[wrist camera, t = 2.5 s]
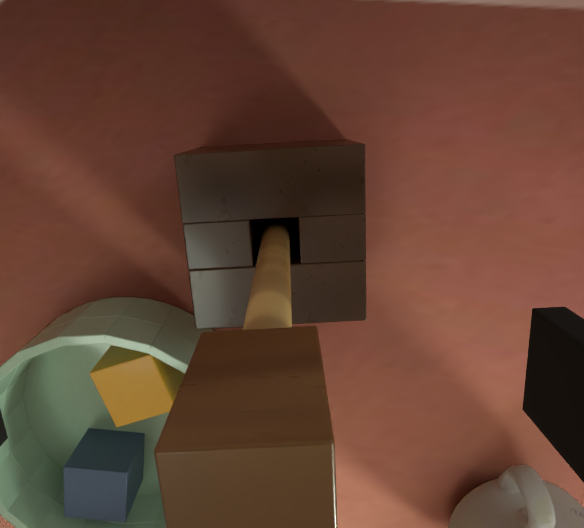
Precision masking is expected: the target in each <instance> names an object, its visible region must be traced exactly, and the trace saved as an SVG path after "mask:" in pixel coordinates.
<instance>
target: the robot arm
mask: <svg viewBox="0 0 584 528" xmlns="http://www.w3.org/2000/svg"><path fill="white" fill-rule="evenodd" d="M523 410H524V412H525V413H526V414H527V415H528V416H529V418H530V419H531V420H532V421H533V422H534V424H535V425H536V426H537V427H538V428H539V430H540V431H541V432H542V433H543V434H544V436H545V437H546V438H547V439H548V440H549V441H550V443H551V444H552V445H553V446H554V447H555V449H556V450H557V451H558V452H559V453H560V455H561V456H562V457H563V458H564V459H565V461H566V462H567V463H568V464H569V465H570V467H571V468H572V469H573V470H574V471H575V473H576V474H577V475H578V476H579V477H580V479H581V480H582V481H583V482H584V319H583V318H581V317H580V316H578V315H577V314H575V313H574V312H572V311H571V310H569V309H567V308H566V307H551V308H533V309H532V319H531V329H530V339H529V349H528V359H527V369H526V380H525V390H524V400H523ZM7 438H8V436H7V432H6V428H5V425H4V421H3V417H2V413H1V410H0V446H1V445H2V444H3V443H4V442H5V441H6V440H7Z"/></svg>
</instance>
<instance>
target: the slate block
mask: <svg viewBox="0 0 584 528" xmlns="http://www.w3.org/2000/svg"><path fill="white" fill-rule="evenodd" d="M144 441H145V433H137V432H126V431H115V430H105V429H94V428H88V430H87V431H86V433H85V434H84V436H83V437H82V439H81V441H80V442H79V444H78V445H77V447H76V448H75V450H74V451H73V453H72V454H71V456H70V458H69V459H68V461H67V462H66V464H65V465H64V467H63V476H64V517H69V518H80V519H92V520H104V521H115V522H126V520H127V517H128V515H129V513H130V510H131V508H132V505H133V503H134V500H135V498H136V495H137V493H138V490H139V488H140V485H141V483H142V480H143V468H144Z"/></svg>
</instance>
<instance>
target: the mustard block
mask: <svg viewBox="0 0 584 528" xmlns="http://www.w3.org/2000/svg"><path fill="white" fill-rule="evenodd" d="M89 374H90V376H91V378H92V380H93V382H94V384H95V386H96V388H97V390H98V392H99V394H100V396H101V398H102V400H103V402H104V404H105V406H106V408H107V410H108V412H109V414H110V416H111V418H112V419H113V421H114V423H115V425H116V427H120V426H123V425H127V424H130V423H134V422H137V421H140V420H144V419H147V418H150V417H154V416H157V415H161V414H164V413H167V412H170V410H171V407H172V405H173V402H174V400H175V397H176V395H177V392H178V390H179V387H180V385H181V382H182V380H183V377H184V375H185V374H184V373H183V372H181V371H179V370H177V369H175V368H173V367H172V366H170V365H168V364H166V363H164V362H162V361H161V360H159V359H157V358H155V357H153V356H151V355H150V354H148V353H143V352H139V351H135V350H130V349H126V348H121V347H117V346H113V345H111V346H110V347H109V349H108V350H107V351H106V352H105V354H104V355H103V356H102V357H101V359H100V360H99V361H98V362H97V364H96V365H95V366H94V368H93V369H92V370H91V371H90V373H89Z"/></svg>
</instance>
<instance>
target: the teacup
mask: <svg viewBox="0 0 584 528" xmlns="http://www.w3.org/2000/svg"><path fill="white" fill-rule="evenodd" d="M448 528H584V508H583V506H582V505H581V504H580V503H579V502H578V501H577V500H576V499H575V498H574V497H572V496H571V495H570V494H569V493H568V492H566V491H565V490H563V489H562V488H560V487H558V486H556V485H555V484H552V483H550V482H547V481H545V480H542V479H541V477H540V476H539V474H538V473H537V472H536V471H535V470H534V469H533V468H532V467H530V466H527V465H514V466H510V467H508V468H507V469H506V470H505V471H504V473H502V474H500V476H499V478H497V479H493V480H490V481H488V482H485V483H483V484H481V485H480V486H478V487H476V488H475V489H473V490H472V491H471V492H469V493H468V494H467V495H466V496H465V497H464V498H463V499H462V500H461V501H460V502H459V503H458V505H457V506H456V508H455V509H454V511H453V513H452V515H451V518H450V521H449V524H448Z"/></svg>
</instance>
